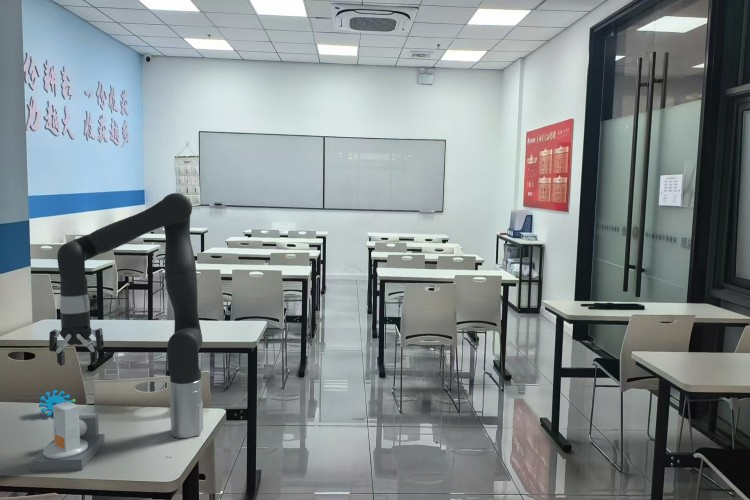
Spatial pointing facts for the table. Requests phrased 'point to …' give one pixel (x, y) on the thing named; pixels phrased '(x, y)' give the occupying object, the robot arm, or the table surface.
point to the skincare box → (66, 426)
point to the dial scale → (77, 457)
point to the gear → (53, 401)
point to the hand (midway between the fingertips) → (77, 364)
